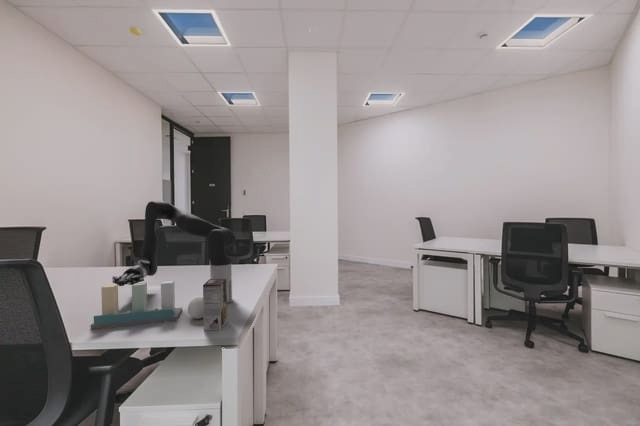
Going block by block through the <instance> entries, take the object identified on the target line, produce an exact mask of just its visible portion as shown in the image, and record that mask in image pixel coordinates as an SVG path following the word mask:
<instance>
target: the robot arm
mask: <svg viewBox="0 0 640 426" xmlns="http://www.w3.org/2000/svg"><path fill="white" fill-rule="evenodd" d="M144 213H145V214H144V237H143V243H142V248H141V253H140V254H141V257H143V258H144V259H147V260H143V259H142V260H137V261H136V263H135V264H134V265H133V266H132V267H129V268H128V269H126V270H125V271H124V272H123V273H122V275H119V276H112V281H111V282H112V283H113V284H118V287H124V286H125V285H129V286H132V285H133V284H135V283H142V282H144V281H145V278H146V277H147V276H150V277H153V276H155V275H156V274H157V271H158V260H157V259H158V258H157V255H158V249H159V245H160V244H159V243H160V242H159V237H158V234H157V231H156V222H157V220H168V221H171V222H174V224H175V226H176V228H177V229H179V231H182V233H183V232H184V233H186V234H187V235H191V236H194V237H200V238H205V239H207V240H206V242H207V243H206V245H207V256H208V260H209V263H210V264H209V266H210V267H209V269H210V270H209V272H210V273H209V275H210V278H209V279H226V286H227V304H229V303H233V279H232V278H233V277H232V257H231V256H228V255H227V254H226V252H225V250H226V249H228V248H231V247H232V246H234V244H235V243H236V235H235V234H234V232H233V230H231V229H229V228H226V227H222V226H219V225H217V224H213V223H211V222H210V221H207V220H206V219H204V218H201V217H199V216H197V215H195V214H192V213H189V212H188V211H185V210H182V209H180V208H178V207H176V206H175V205H173V204H172V203H170V202H168V201H161V200H151V201H149V202H147V204H146V206H145V211H144Z"/></svg>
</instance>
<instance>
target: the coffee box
mask: <svg viewBox="0 0 640 426" xmlns="http://www.w3.org/2000/svg"><path fill="white" fill-rule="evenodd" d="M202 288H203V289H202V291H203V293H202V296H203V297H202V298H203V305H204V317H203V331H205V332H207V331H222V330H223V328H224V327H225V326H226V323H227V322H228V303H227V286H226V279H210V278H209V279H208V280H207V281H206V282H205V283H204V284H203V285H202Z"/></svg>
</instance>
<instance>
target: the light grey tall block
mask: <svg viewBox="0 0 640 426" xmlns="http://www.w3.org/2000/svg"><path fill="white" fill-rule="evenodd" d="M175 296H176V294H175V280H169V281H168V280H166V281H162V282H161V283H160V304H161V305H160V306H161V307H160V309H161V310H168V309H173V312H174V311H175V308H176V301H175V300H176V299H175V298H176V297H175Z"/></svg>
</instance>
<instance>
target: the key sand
mask: <svg viewBox="0 0 640 426" xmlns="http://www.w3.org/2000/svg"><path fill="white" fill-rule="evenodd" d="M119 311H120V310H119V285H118V284H115V283H113V284H105V285H104V286H102V287H101V315H109V314H119V313H120V312H119Z"/></svg>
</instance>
